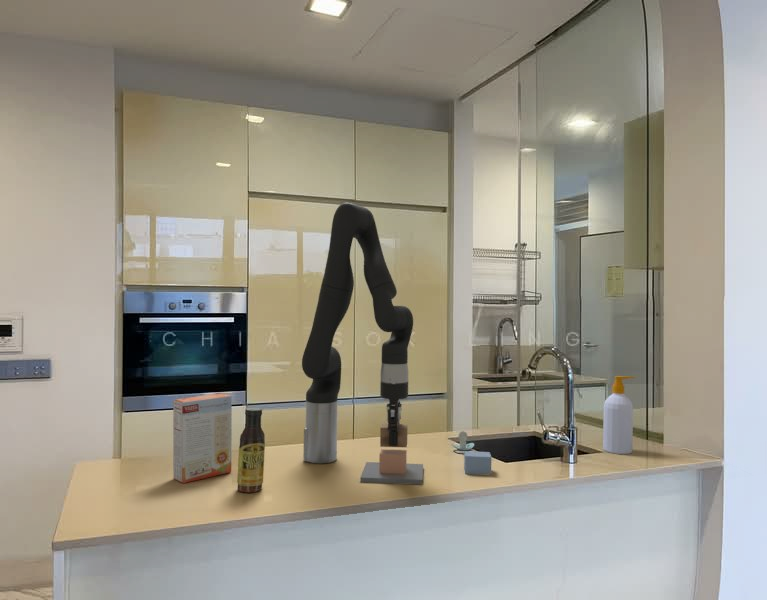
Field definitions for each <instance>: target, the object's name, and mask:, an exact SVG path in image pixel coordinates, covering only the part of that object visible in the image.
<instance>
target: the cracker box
mask: <svg viewBox="0 0 767 600" xmlns="http://www.w3.org/2000/svg"><path fill="white" fill-rule="evenodd" d="M232 398H233V397H232V395H229V394H225V393H217V394H215V393H214V394H206V395H197V396H190V397H184V398H177V399H175V398H174V399H173V402H172V403H173V407H172V408H173V410H172V411H173V415H172V416H173V418H172V419H173V420H172V421H173V422H172V423H173V425H172V426H173V428H172V429H173V430H172V432H173V435H172V436H173V448H172V449H173V451H172V454H173V463H172V464H173V467H172V469H173V476H172V477H173V479H174V480H176V481H177V482H179V483H182V484H187V483H191V482H195V481H200V480H202V479H208V478H211V477H212V478H213V477H216V476H220V475H225V474H229V473H231V472H232V440H233V439H232V435H233V434H232V424H233V423H232V419H233V418H232V415H233V414H232V400H233V399H232Z"/></svg>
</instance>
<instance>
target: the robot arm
mask: <svg viewBox="0 0 767 600" xmlns="http://www.w3.org/2000/svg"><path fill="white" fill-rule="evenodd" d="M330 230H331V231H330V239H329V248H328V254H327V258H326V263H325V267H324V268H325V269H324V274H323V278H322V281H321V285H320V289H319V293H318V300H317V304H316V310H315V312H314V318H313V322H312V325H311V326H312V327H311V330H310V333H309V336H308V339H307V342H306V345H305V349H304V351H303V355H302V357H301V368H302V371H303V373H304V374H305V376H306V377H307V378H309V379H312V382H311V385H310V387H309V388H308V389H307V391H306V393H305V427H304V428H303V459H302V460H303V462H307V463H312V464H327V463H328V464H329V463H333V462H335V461H336V460H337V459H338V396H339V393H340V390H341V384H342V383H341V382H342V358H341V355H340V353H339V351H338V349H336V348H335V347H334V346H333V341H334V337H335V335H336V332H337V329H338V328H339V326H340V324H341V323H342V321H343V319H344V318H345V316H346V314H347V312H348V309H349V308H350V305H351V301H352V296H353V292H354V291H353V290H354V286H355V285H354V284H355V282H354V279H355V278H354V273H353V268H352V264H351V248H352V244H353V239H356V241H357V242H358V244H359V247H360V248H361V250H362V254H363V276H364V280H365V282H366V285H367V288H368V290H369V292H370V295H371V298H372V307H373V314H374V315H373V316H374V321H375V323H376V325H377V326H378V328H379V329H380V330H381V331H383V332H385V333H391V334H390V337H389V339H388V340H386V341H384V342H383V343H382V344H381V365H380V385H379V386H380V388H379V389H380V391H379V393H380V395H379V396H380V397H381V398H382V399H385V400H389V402H388V403H387V404H386V408H385V409H386V410H385V411H386V412H387V413H386V422H387V424H388V431H389V445H390V446H397V444H398V424H401V419H402V410H403V409H402V408H403V404H402V403H401V401H400V400H404V399H407V398H408V397H409V365H408V362H409V359H408V347H409V344H410V340H411V336H412V332H413V328H414V316H413V314H412V311H411V310H410V308H409V307H407V306H404V305H394V304H393V301H392V300H393V299H395V297H396V296H397V293H398V290H397V286H396V285H395V283H394V280H393V278H392V277H393V276H392V275H391V273H390V271H389V268H388V266H387V262H386V260H385V257H384V252H383V249H382V245H381V242H380V241H381V240H380V238H379V234H378V229H377V225H376V221H375V218H374V215H373V213H372V212H371V210H369V208H366V207H364V206H361V205H358V204H355V203H351V202H343V203H341V204H340V205H338V207H337V208H336V209H335V211H334V213H333V219H332V224H331V229H330ZM391 424H396V426H391Z"/></svg>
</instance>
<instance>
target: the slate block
mask: <svg viewBox="0 0 767 600" xmlns="http://www.w3.org/2000/svg"><path fill="white" fill-rule="evenodd" d="M463 457H464V458H463V459H464V460H463V470H464V473H465V475H478V474H489V475H488V476H491V475H492V455H491V452H489V451H475V452H472V451H464V454H463Z"/></svg>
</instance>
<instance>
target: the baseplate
mask: <svg viewBox="0 0 767 600" xmlns="http://www.w3.org/2000/svg"><path fill="white" fill-rule="evenodd" d="M407 452H408V450H407V449H392V448H391V449H388V448H386V449H385V448H381V449H380V451H379V461H378V462H377V461H376V462H375V461H374V462H373V461H365V465H364V467H363V470H362V472H361V475H360V481H359V482H360V483H372V484H373V483H377V484H395V483H396V484H397V485H398V484H399V485H400V484H401V485H403V484H404V485H420V484H422V485H423V480H424V478H423V477H424V476H423V475H424V464H423V463H408V462H407V458H408V457H407V456H408V455H407V454H408V453H407Z"/></svg>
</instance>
